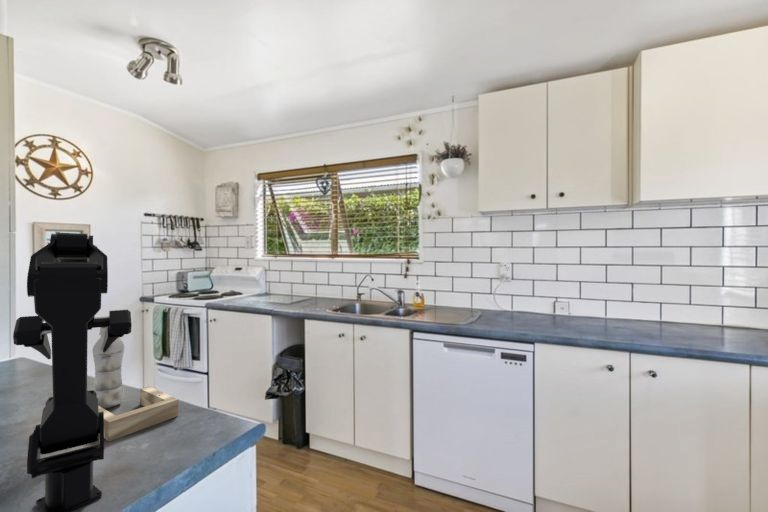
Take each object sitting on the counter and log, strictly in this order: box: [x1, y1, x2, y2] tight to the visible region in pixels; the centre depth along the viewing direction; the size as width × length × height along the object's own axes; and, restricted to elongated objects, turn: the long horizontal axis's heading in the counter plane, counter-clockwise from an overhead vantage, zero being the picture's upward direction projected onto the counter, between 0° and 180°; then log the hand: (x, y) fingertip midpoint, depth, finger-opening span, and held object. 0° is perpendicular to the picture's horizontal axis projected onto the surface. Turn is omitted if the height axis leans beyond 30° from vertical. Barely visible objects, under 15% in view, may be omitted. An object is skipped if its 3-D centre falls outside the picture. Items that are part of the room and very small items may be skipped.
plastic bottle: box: [92, 327, 125, 409], centre depth 90 cm, size 6×7×20 cm
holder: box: [98, 385, 179, 442], centre depth 84 cm, size 14×14×4 cm
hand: (77, 354), depth 81 cm, fingers open, 9 cm apart
